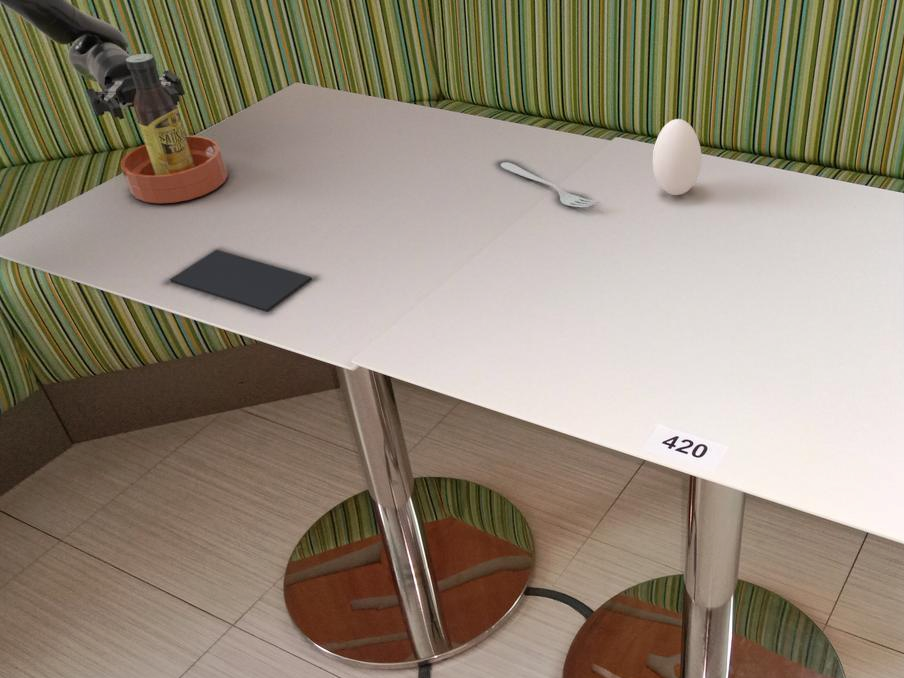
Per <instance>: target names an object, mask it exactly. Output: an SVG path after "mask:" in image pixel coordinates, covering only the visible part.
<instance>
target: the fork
mask: <svg viewBox="0 0 904 678" xmlns="http://www.w3.org/2000/svg"><path fill="white" fill-rule="evenodd" d="M500 167H501V168H502V169H504V170H507V171H508V172H511V173H513V174H516V175H519V176H520V177H521V176H522V177H524V178H526V179H529V180H532V181H535V182H537V183H541V184H544V185H548V186H550V187H551V188H553V189H555V190H556V191H557V192H558V194H559V199H560V202H561V204H563V205H565V206H567V207H568V206H569V207H573V208H589V207H593V206H594V205H598V204H601V203H602V201H601V200H592V199H588V198H583V197H581V196H578V195H575V194H573V193H570V192H567V191H566V190H564V189H562V187H560V186H558V185H557V184H555V183H553V182H550V181H548V180H545V179H543V178H541V177H540V176H537V175H536V174H533V173H531V172H529V171H527V170H525V169H523V168H522V167H520V166H518V165H517V164H514V163H511V162H507V161H506V162H502V163H500Z"/></svg>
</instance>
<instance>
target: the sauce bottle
mask: <svg viewBox="0 0 904 678" xmlns="http://www.w3.org/2000/svg"><path fill="white" fill-rule="evenodd" d="M126 63H127V67H128V69H129V70H130V71H131V74H132V78H133V80H134V86H135V88H136V95H135V98H134V107H133V110H134V113H135V115H136V118H137V124H138V127H139V129H140V133H141V136H142V138H143V141H144V144H145V145H146V148H147V151H148V154H149V157H150V160H151V163H152V166H153V169H154V172H155V175H166V174H172V173H177V172H181V171H185V170H188V169H191V168H194V167H195V165H194V162H193V159H192V155H191V152H190V149H189V145H188V142H187V139H186V136H187V135H186V132H185V129H184V126H183V122H182V120H181V116H180V114H179V109H178V108H177V105H176V106H175V104H174V103H173V101H172V100H171V98H170V97H169V95H168V94H167V93H166V91H165V89H164V87H163V86H162V84H161V81H160V79H159V78H160V76H159V73H158V70H157V62H156V59H155V57H154V55H152V54H151V53H140V54H138V53H137V54H133V55H130V57H128V58H127V59H126Z"/></svg>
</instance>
